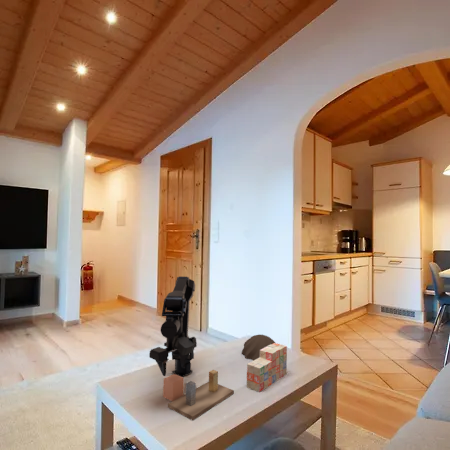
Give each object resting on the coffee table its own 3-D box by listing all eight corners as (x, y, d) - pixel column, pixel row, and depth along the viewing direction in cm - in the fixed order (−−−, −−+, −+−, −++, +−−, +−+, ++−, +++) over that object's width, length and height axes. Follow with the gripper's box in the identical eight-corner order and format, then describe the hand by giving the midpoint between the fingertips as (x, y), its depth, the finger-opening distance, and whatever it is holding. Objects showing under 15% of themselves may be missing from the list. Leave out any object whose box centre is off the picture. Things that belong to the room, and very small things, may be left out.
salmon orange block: (163, 396, 114) (163, 378, 114) (173, 391, 118) (174, 373, 118) (172, 401, 111) (173, 383, 111) (183, 395, 115) (183, 377, 115)
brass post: (208, 393, 117) (208, 371, 117) (212, 391, 118) (213, 369, 119) (213, 395, 115) (213, 373, 115) (217, 393, 117) (217, 371, 117)
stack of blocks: (259, 393, 118) (259, 360, 118) (246, 387, 122) (246, 356, 122) (286, 374, 134) (287, 345, 135) (274, 370, 138) (274, 342, 139)
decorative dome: (266, 366, 142) (266, 344, 143) (233, 354, 156) (233, 334, 156) (288, 354, 157) (288, 334, 157) (256, 345, 170) (256, 326, 170)
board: (168, 407, 107) (168, 403, 107) (210, 383, 124) (210, 380, 124) (192, 420, 100) (192, 416, 100) (233, 393, 117) (233, 390, 117)
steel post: (185, 407, 107) (186, 383, 108) (190, 404, 109) (190, 380, 109) (190, 409, 106) (190, 385, 106) (195, 406, 108) (195, 383, 108)
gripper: (169, 340, 103) (169, 388, 103) (207, 327, 118) (206, 369, 117) (148, 333, 110) (148, 378, 110) (186, 322, 125) (186, 361, 124)
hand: (173, 371), depth 115 cm, fingers open, 9 cm apart
